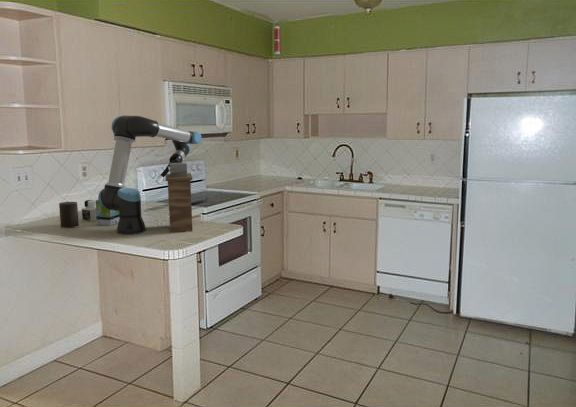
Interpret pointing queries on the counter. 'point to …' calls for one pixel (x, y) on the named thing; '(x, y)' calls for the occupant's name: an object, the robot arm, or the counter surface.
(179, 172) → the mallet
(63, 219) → the pillar candle
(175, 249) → the counter surface
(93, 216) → the medicine bottle
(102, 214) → the tea box
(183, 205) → the pedestal
